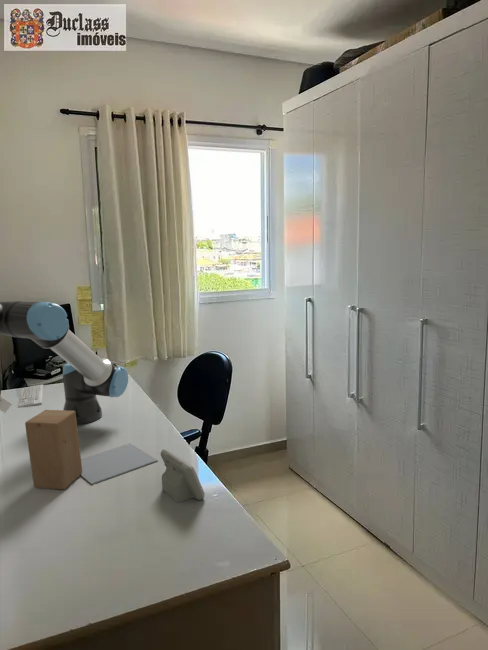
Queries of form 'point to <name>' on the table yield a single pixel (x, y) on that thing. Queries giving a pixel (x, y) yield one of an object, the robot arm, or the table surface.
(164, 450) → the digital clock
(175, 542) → the table surface
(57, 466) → the wooden block
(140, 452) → the grey mat
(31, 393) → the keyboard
